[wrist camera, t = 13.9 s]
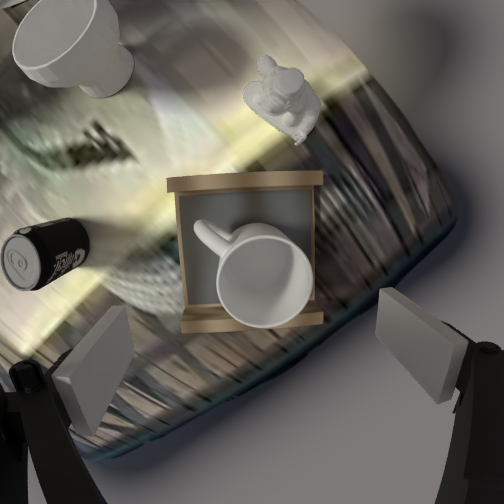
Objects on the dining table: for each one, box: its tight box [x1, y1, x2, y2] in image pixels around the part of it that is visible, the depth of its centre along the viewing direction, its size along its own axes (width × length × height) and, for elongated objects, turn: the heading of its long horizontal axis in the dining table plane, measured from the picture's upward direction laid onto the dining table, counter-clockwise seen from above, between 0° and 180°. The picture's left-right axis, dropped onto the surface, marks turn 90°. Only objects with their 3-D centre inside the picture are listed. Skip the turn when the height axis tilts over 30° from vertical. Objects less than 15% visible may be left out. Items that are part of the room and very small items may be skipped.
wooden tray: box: [167, 171, 323, 333], centre depth 35 cm, size 16×17×5 cm
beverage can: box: [0, 218, 90, 291], centre depth 30 cm, size 7×7×12 cm
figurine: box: [243, 55, 321, 145], centre depth 28 cm, size 9×6×12 cm
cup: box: [12, 0, 134, 98], centre depth 24 cm, size 11×11×15 cm
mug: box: [194, 219, 313, 328], centre depth 31 cm, size 12×8×10 cm
